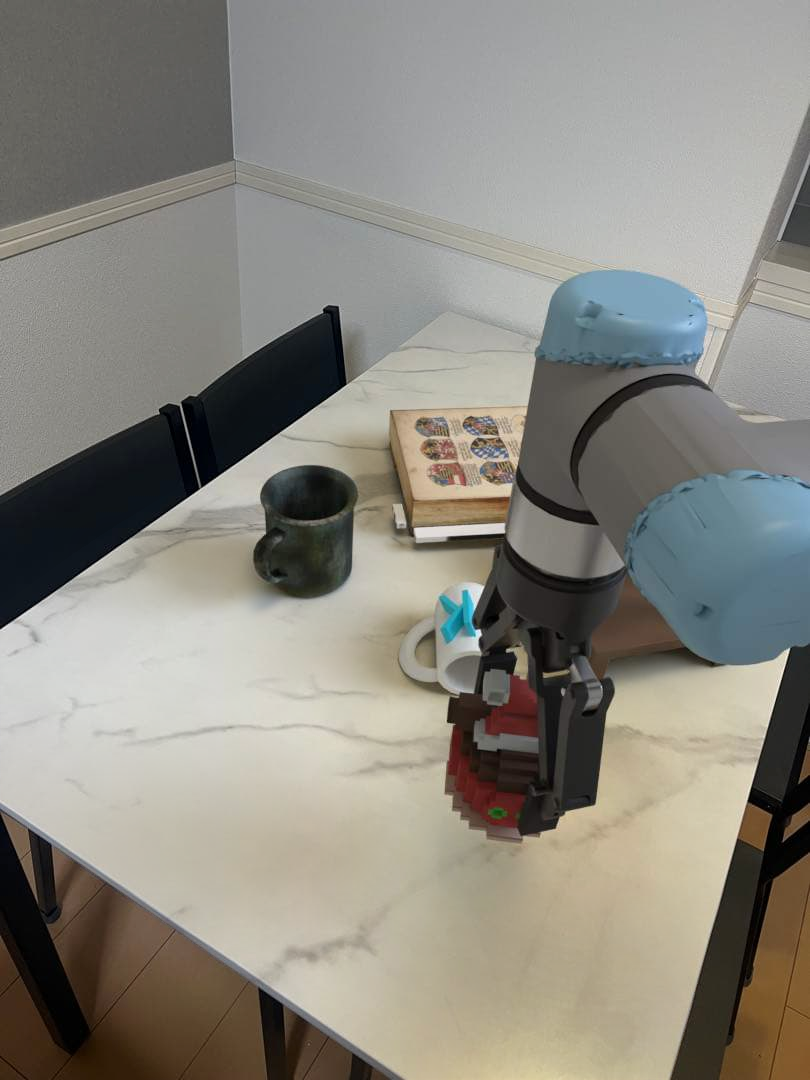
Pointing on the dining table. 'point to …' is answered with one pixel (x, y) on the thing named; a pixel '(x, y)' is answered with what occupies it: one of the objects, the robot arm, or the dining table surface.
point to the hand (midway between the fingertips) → (510, 766)
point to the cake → (493, 754)
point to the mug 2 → (448, 641)
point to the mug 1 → (307, 530)
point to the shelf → (631, 631)
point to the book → (456, 470)
